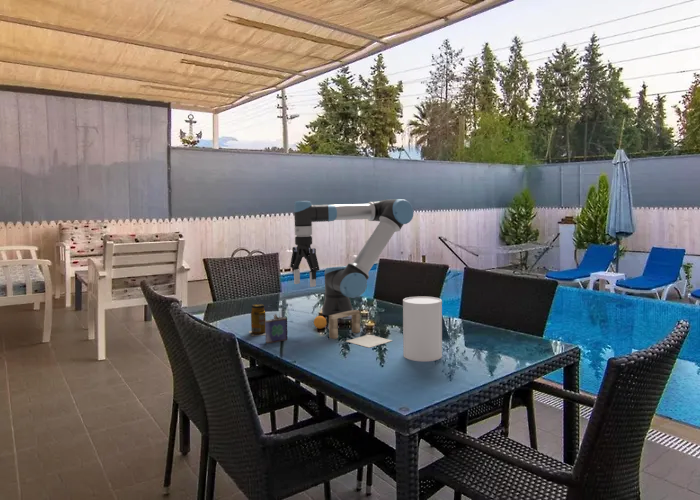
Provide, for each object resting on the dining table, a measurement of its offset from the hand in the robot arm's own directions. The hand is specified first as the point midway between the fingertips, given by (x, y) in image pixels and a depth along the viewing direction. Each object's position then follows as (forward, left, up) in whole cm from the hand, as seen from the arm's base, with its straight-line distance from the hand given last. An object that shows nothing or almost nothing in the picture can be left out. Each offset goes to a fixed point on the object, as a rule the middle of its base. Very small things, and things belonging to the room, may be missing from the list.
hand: (304, 285), depth 232 cm
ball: (0, +10, -15) cm, 18 cm away
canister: (0, +67, -18) cm, 69 cm away
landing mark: (0, +40, -18) cm, 44 cm away
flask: (+25, +13, -18) cm, 34 cm away
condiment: (+23, -3, -18) cm, 30 cm away
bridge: (0, +26, -18) cm, 32 cm away
